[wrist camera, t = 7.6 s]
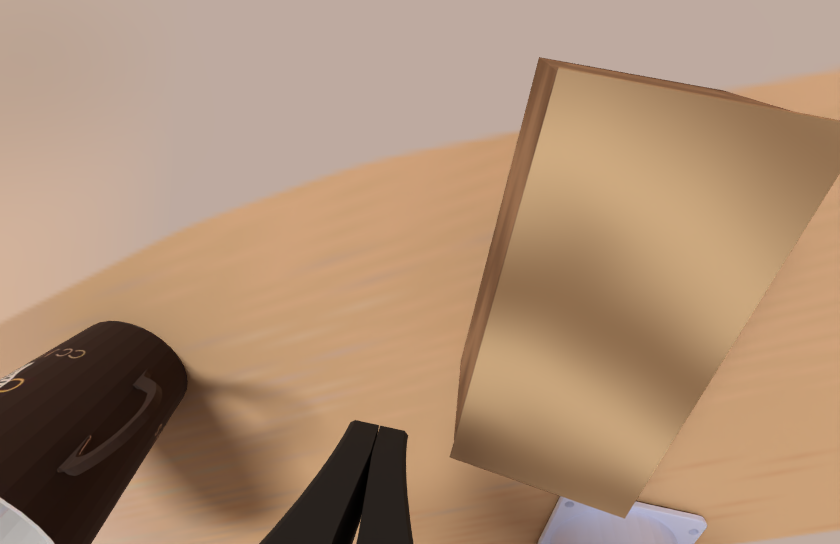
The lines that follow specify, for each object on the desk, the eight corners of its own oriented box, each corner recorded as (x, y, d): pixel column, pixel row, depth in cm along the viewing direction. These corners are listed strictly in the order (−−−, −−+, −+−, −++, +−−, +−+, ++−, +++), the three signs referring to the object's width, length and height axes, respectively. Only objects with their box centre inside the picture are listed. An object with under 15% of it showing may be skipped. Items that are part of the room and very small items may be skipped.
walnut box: (587, 387, 23) (610, 474, 18) (460, 361, 23) (453, 439, 19) (722, 90, 16) (809, 116, 12) (539, 57, 16) (556, 70, 12)
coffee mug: (99, 419, 29) (-67, 588, 20) (34, 304, 25) (-207, 452, 17) (271, 425, 27) (168, 614, 19) (229, 302, 23) (74, 469, 15)
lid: (623, 504, 17) (624, 518, 17) (452, 445, 19) (449, 457, 18) (853, 123, 10) (867, 127, 10) (559, 67, 12) (558, 68, 11)
